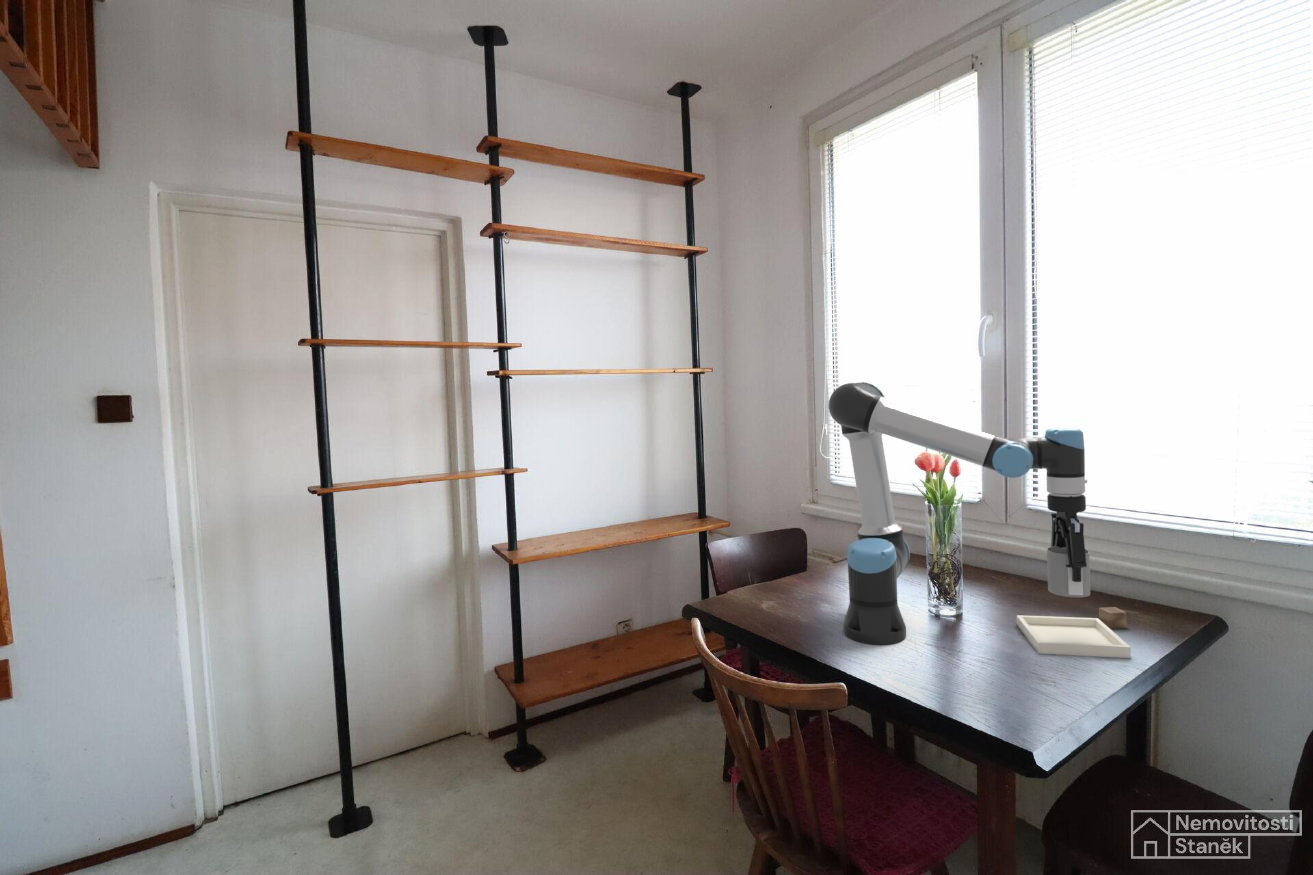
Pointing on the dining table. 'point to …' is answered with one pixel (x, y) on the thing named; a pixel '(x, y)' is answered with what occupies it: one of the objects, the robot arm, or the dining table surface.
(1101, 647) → the tray
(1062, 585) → the cup
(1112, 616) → the walnut block
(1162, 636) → the dining table surface
